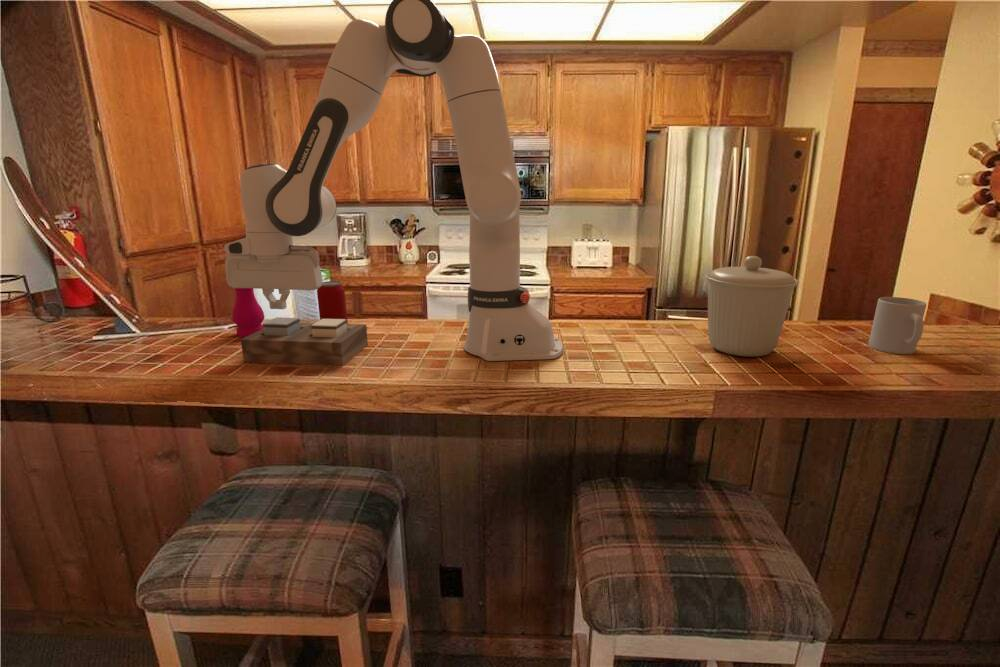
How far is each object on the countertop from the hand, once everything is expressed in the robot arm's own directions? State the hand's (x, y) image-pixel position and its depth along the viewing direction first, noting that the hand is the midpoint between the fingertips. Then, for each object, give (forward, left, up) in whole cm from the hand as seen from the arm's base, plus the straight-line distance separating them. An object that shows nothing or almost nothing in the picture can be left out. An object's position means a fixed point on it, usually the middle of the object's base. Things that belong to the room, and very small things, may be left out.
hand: (278, 308), depth 110 cm
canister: (-102, -12, -10) cm, 103 cm away
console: (-6, 0, -10) cm, 12 cm away
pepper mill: (+16, -13, -10) cm, 23 cm away
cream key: (-11, 0, -8) cm, 14 cm away
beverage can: (-3, -20, -10) cm, 23 cm away
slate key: (0, 0, -8) cm, 8 cm away
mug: (-136, -15, -10) cm, 137 cm away
